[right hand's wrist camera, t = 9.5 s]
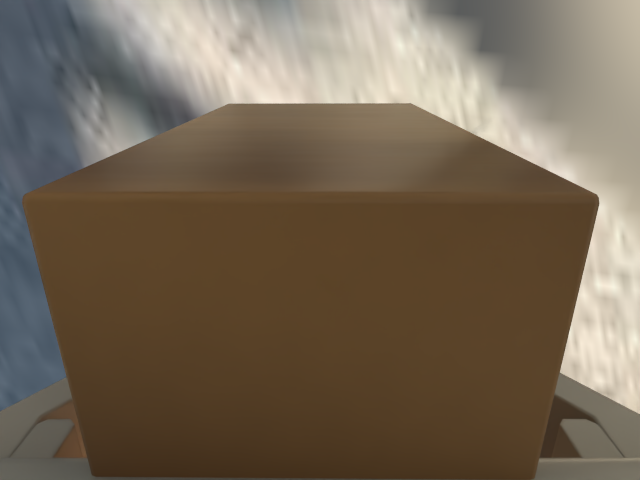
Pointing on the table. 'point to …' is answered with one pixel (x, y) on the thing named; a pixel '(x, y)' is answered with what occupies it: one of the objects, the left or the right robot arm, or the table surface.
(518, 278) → the beam
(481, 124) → the table surface
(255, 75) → the table surface
